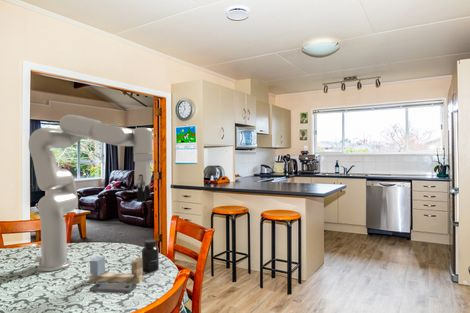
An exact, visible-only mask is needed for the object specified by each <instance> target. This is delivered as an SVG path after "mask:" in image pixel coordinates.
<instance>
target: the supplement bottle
mask: <svg viewBox="0 0 470 313" xmlns="http://www.w3.org/2000/svg"><path fill="white" fill-rule="evenodd" d="M143 245H144V246H143V248H142V249H141V258H142V265H143V272H144V273H154V272H157V271H158V270H159V268H160V266H159V265H160V264H159V262H160V261H159V260H160V257H159V256H160V254H159V253H160V252H159V251H160V250H159V247H158V246H157V240H156V239H146V240H144V242H143Z"/></svg>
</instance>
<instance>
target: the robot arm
mask: <svg viewBox="0 0 470 313" xmlns="http://www.w3.org/2000/svg"><path fill="white" fill-rule="evenodd" d="M58 123H59V127H60V128H52V127H42V128H38V129H36V130H34V131H33V132H31V135H30V136H29V138H28V151H29V153H30V156H31V159H32V162H33V168H34V173H35V178H36V184H37V186H38V188H39V189H40V190H41V191H44V192H51V191H56V192H55V193H48V194H46V195H44V196H42V197H41V198H40V199H39V201H38V203H37V210H38V214H39V215H38V216H39V218H40V219H39V221H40V239H41V240H40V244H41V246H40V248H41V250H40V252H41V253H40V254H41V255H39V256H38V255H37V256H36V257H35V258H34V262H35V263H38V265H37V267H36V270H37V271H40V272H54V271H59V270H63V269H66V268H68V267H69V266H71V264H72V261H71V260H70V259H68V255H67V254H68V253H67V251H68V248H67V242H68V241H67V224H66V223H67V222H66V219H65V218H64V215H63V214H66V213H70V212H73V211H74V210H76V209H77V206H78V204H79V196H78V193H77V187H76V182H75V177H74V176H73V173H72V172H71V171H70V170H69V169H66V168H58V164H57V159H56V157H55V155H54V153H53V151H51V148H52V149H67V148H70V147H72V146H73V145H75V144H77V143H79V141H81V140H83V139H84V138H85V139H89V140H93V141H96V142H99V143H104V144H108V145H112V146H118V147H122V146H123V147H133V162H134V174H133V175H134V177H133V178H134V179H133V182H134V184H133V185H134V186H135V187H136V202H146V199H150V198H151V185H150V184H151V183H152V182H151V181H152V178H151V177H152V174H151V173H152V172H151V170H152V169H151V162H153V161H154V160H153V159H154V158H153V156H154V155H153V130H152V128H150V127H136V128H129V127H123V126H116V125H114V124H113V125H112V124H107V123H103V122H101V121H100V120H99V119H93V118H91V117H89V118H88V117H85V116H82V115H76V114H67V115H66V114H65V115H63V116H62V117H61V118H60V120H59V122H58Z"/></svg>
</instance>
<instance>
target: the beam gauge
mask: <svg viewBox="0 0 470 313" xmlns="http://www.w3.org/2000/svg"><path fill="white" fill-rule="evenodd" d="M130 264H131V273H114V272H113V273H112V272H111V273H108V272H107V273H106V272H104V273H102V274H101V275H99V276H98V277H96V276H90V277H89V278H88V279H89V282H102V283H128V284H140V283H141V282H143V280H144V275H143V265H142V257H137V258H135V259H134V260H132V261H131V263H130Z"/></svg>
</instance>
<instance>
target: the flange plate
mask: <svg viewBox="0 0 470 313" xmlns="http://www.w3.org/2000/svg"><path fill="white" fill-rule="evenodd" d="M136 288H137V283H123V282H96V283H94V285H92V286H91V287H90V288H89V292H101V293H102V292H104V293H105V292H106V293H124V294H125V293H127V294H128V293H129V294H130V293H131V292H133V291H135V289H136Z"/></svg>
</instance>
